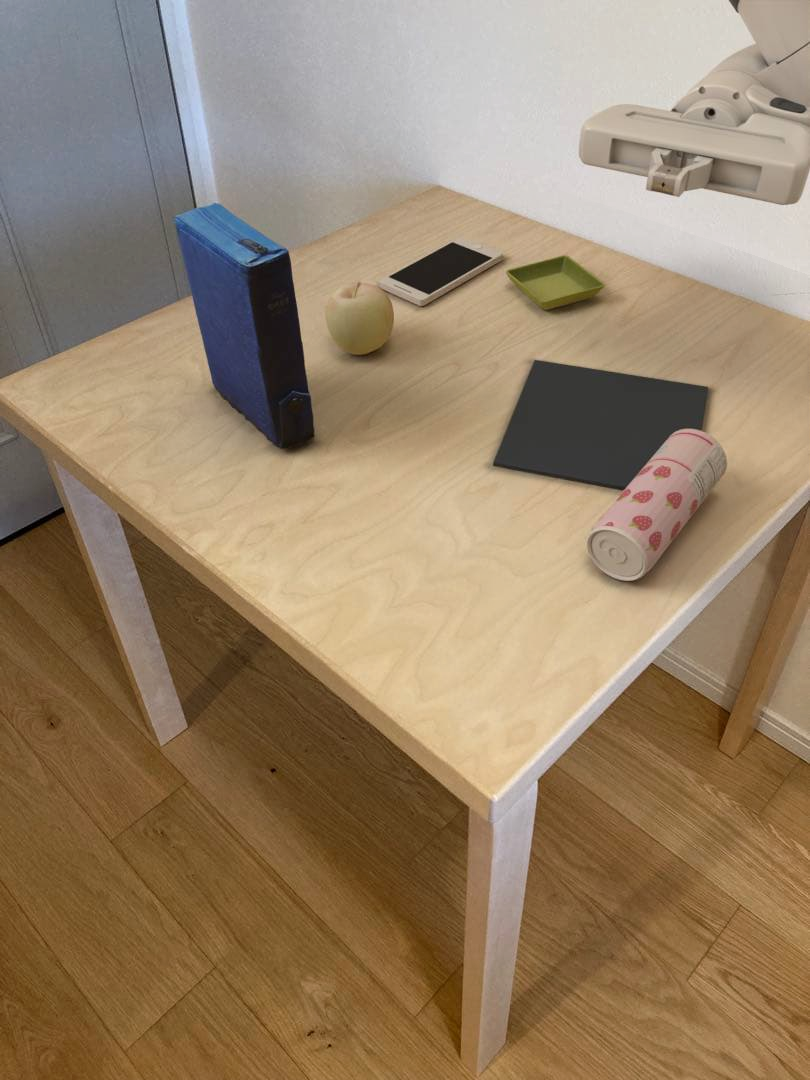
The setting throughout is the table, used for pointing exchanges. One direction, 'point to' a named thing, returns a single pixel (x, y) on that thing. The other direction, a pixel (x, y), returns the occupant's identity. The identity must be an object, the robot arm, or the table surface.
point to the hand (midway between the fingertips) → (663, 184)
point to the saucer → (555, 282)
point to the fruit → (359, 317)
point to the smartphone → (440, 271)
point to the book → (248, 321)
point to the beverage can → (656, 504)
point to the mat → (595, 423)
